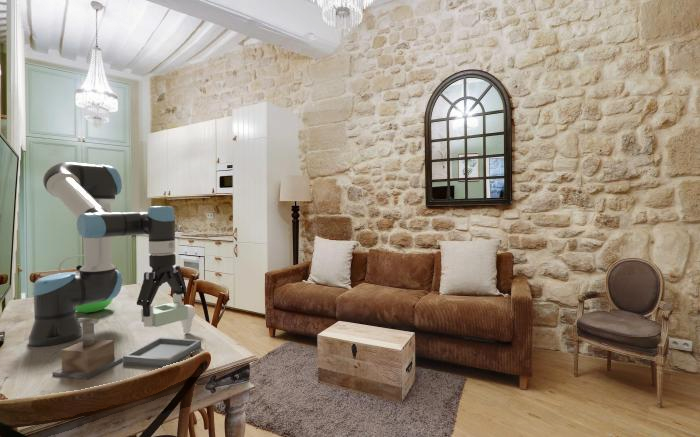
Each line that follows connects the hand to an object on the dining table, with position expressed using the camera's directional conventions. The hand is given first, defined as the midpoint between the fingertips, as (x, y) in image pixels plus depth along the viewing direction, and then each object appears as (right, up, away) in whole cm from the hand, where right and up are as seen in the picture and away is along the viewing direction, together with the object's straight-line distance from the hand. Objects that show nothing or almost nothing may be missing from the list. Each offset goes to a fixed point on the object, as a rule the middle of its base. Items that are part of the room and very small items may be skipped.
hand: (164, 319), depth 115 cm
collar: (0, 0, 0) cm, 1 cm away
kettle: (-82, -9, +74) cm, 111 cm away
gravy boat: (-59, -10, +48) cm, 76 cm away
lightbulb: (-2, -11, +20) cm, 23 cm away
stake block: (-18, -12, -8) cm, 23 cm away
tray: (0, -12, +1) cm, 12 cm away
